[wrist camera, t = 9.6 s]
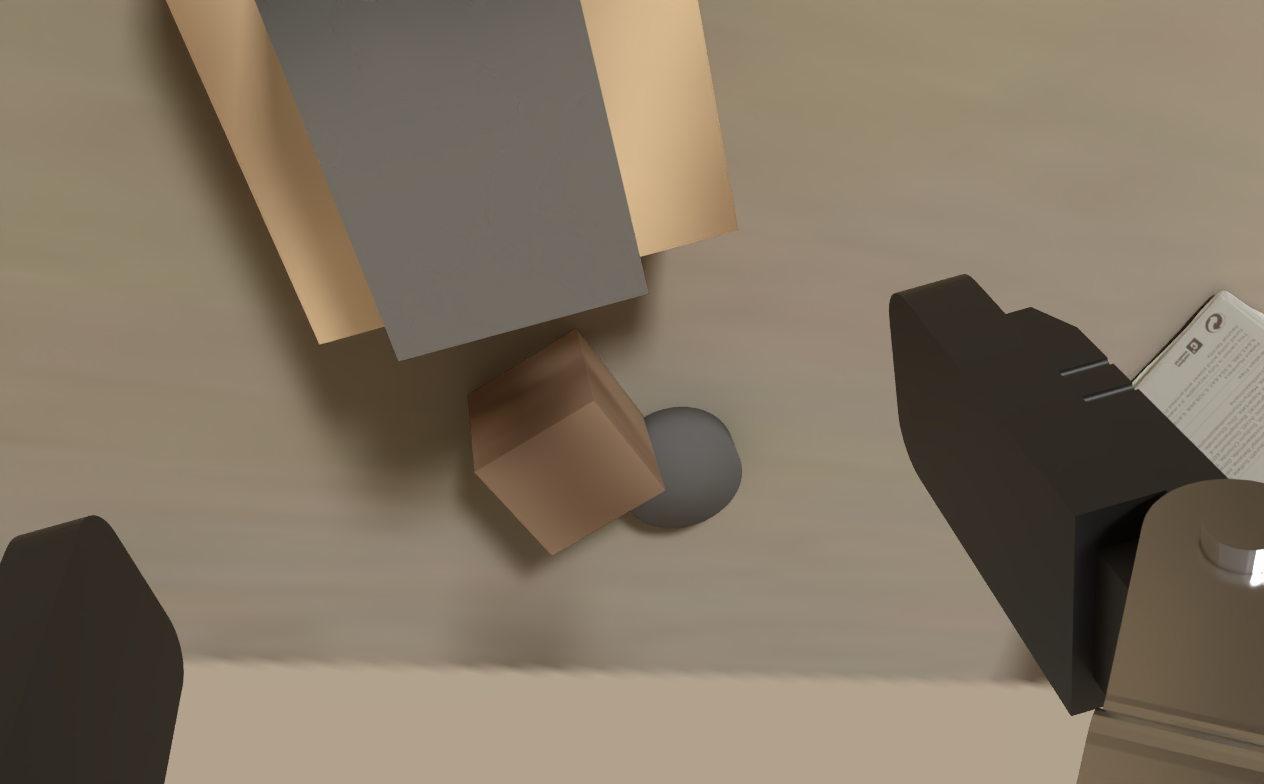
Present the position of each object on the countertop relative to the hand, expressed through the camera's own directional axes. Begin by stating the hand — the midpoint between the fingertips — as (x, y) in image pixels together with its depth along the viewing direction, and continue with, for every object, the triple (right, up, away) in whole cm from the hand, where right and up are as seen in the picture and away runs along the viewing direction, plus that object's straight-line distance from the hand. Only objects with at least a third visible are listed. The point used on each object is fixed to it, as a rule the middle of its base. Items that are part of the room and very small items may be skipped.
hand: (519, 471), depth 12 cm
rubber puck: (+3, -1, +27) cm, 27 cm away
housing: (-3, +8, +12) cm, 14 cm away
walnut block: (-1, 0, +25) cm, 25 cm away
